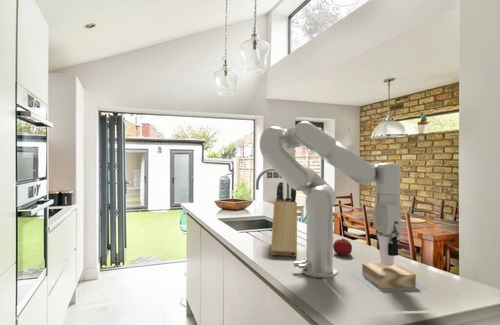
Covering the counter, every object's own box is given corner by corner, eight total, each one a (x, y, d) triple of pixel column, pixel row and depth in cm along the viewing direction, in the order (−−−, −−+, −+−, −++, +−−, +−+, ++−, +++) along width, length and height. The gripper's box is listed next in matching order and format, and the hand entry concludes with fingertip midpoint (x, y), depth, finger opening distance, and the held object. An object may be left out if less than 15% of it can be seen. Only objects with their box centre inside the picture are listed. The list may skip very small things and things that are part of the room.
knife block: (295, 239, 164) (296, 181, 164) (297, 259, 129) (298, 185, 129) (274, 238, 165) (275, 181, 166) (270, 257, 130) (271, 184, 131)
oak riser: (380, 288, 97) (380, 275, 97) (362, 274, 109) (362, 263, 109) (415, 287, 99) (415, 274, 99) (394, 273, 111) (394, 262, 111)
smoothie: (391, 261, 107) (392, 221, 108) (401, 267, 101) (401, 224, 101) (373, 261, 107) (374, 220, 107) (382, 267, 101) (382, 224, 101)
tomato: (351, 258, 131) (352, 241, 132) (332, 256, 134) (332, 239, 134) (352, 253, 139) (352, 237, 139) (333, 251, 142) (333, 235, 142)
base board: (374, 292, 95) (374, 291, 95) (351, 274, 111) (351, 273, 111) (428, 291, 97) (428, 289, 97) (398, 273, 113) (398, 271, 113)
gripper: (365, 196, 112) (364, 245, 112) (391, 202, 95) (390, 260, 95) (384, 196, 113) (384, 245, 113) (414, 202, 96) (413, 260, 96)
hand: (387, 251), depth 104 cm, fingers closed on smoothie, 6 cm apart
